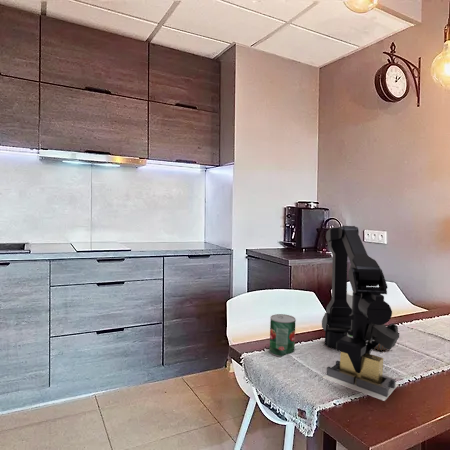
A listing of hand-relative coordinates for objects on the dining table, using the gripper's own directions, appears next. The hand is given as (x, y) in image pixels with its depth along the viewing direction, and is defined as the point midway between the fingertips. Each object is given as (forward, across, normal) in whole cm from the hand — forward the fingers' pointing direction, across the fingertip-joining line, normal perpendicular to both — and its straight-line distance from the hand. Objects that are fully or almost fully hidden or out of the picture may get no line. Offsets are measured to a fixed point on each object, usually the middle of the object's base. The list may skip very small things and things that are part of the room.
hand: (360, 370), depth 94 cm
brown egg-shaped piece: (+4, +29, +5) cm, 30 cm away
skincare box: (+4, +35, +16) cm, 39 cm away
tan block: (+2, 0, 0) cm, 2 cm away
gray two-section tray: (+3, 0, 0) cm, 3 cm away
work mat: (+4, 0, 0) cm, 4 cm away
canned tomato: (+4, +3, +26) cm, 26 cm away
